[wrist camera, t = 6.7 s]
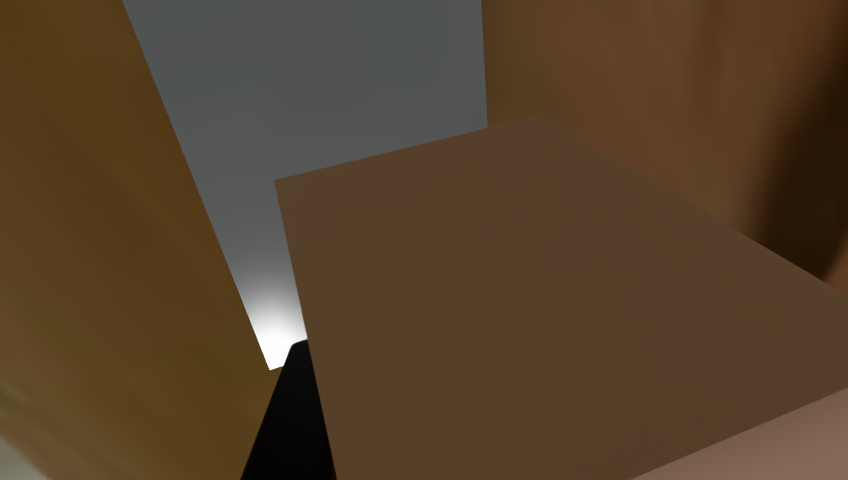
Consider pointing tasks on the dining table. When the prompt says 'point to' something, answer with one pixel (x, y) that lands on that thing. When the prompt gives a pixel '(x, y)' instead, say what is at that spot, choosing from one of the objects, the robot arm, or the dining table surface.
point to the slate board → (301, 110)
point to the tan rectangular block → (555, 322)
